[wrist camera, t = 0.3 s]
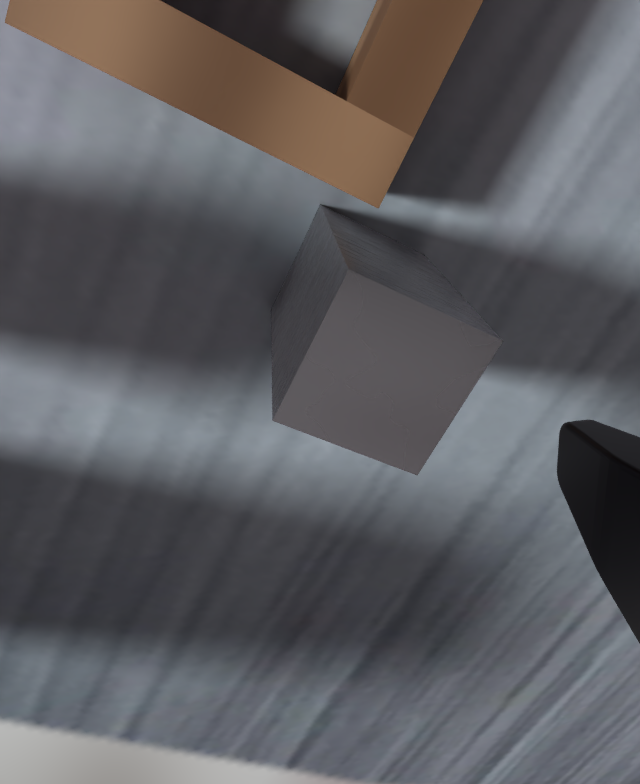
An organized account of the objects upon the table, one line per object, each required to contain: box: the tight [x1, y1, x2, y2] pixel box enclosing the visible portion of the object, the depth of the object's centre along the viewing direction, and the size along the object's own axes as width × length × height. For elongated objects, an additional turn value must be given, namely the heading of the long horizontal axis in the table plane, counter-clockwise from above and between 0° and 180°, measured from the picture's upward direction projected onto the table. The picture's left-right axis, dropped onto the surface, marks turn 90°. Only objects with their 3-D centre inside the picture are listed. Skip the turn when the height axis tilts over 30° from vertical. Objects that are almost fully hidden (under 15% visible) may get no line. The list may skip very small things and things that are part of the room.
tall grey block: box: [271, 204, 503, 475], centre depth 18 cm, size 4×4×8 cm
